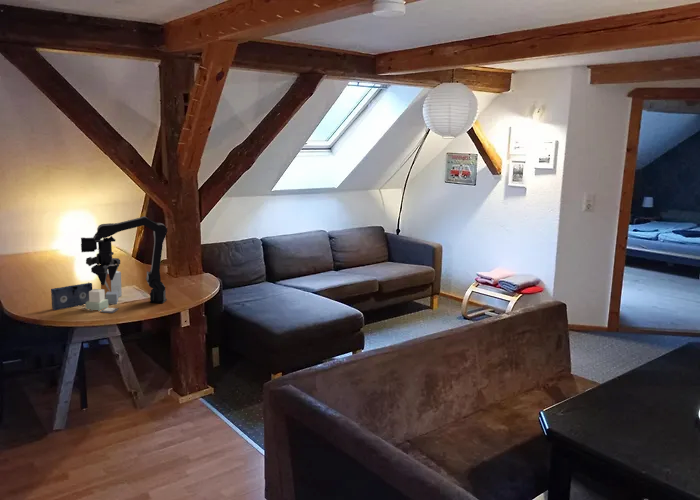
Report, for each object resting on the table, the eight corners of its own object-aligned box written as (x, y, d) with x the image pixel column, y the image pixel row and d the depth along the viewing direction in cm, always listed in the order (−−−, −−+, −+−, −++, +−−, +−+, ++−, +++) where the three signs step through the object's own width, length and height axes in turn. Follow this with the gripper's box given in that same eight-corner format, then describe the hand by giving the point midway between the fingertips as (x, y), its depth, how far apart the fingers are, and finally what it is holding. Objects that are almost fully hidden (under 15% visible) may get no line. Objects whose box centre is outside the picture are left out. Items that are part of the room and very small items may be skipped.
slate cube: (118, 301, 274) (118, 291, 273) (116, 304, 269) (116, 294, 268) (107, 301, 273) (107, 291, 272) (105, 304, 268) (105, 294, 267)
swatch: (118, 309, 261) (118, 307, 261) (112, 313, 255) (112, 311, 255) (105, 308, 261) (105, 307, 261) (100, 312, 255) (100, 310, 255)
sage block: (108, 307, 264) (108, 299, 263) (99, 311, 257) (99, 303, 256) (95, 306, 265) (94, 298, 264) (85, 310, 258) (85, 302, 257)
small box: (101, 296, 280) (100, 271, 278) (111, 293, 286) (110, 269, 283) (111, 298, 276) (110, 273, 274) (122, 296, 282) (121, 271, 279)
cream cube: (104, 299, 263) (104, 289, 262) (99, 302, 258) (99, 292, 257) (94, 299, 263) (94, 288, 262) (89, 301, 258) (88, 291, 257)
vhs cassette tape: (91, 301, 270) (90, 282, 268) (93, 303, 268) (92, 283, 267) (51, 309, 257) (50, 288, 255) (54, 310, 255) (52, 289, 253)
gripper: (97, 246, 269) (99, 277, 273) (78, 254, 251) (81, 287, 254) (119, 247, 269) (121, 277, 273) (103, 255, 251) (105, 288, 254)
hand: (107, 282), depth 263 cm, fingers open, 9 cm apart
